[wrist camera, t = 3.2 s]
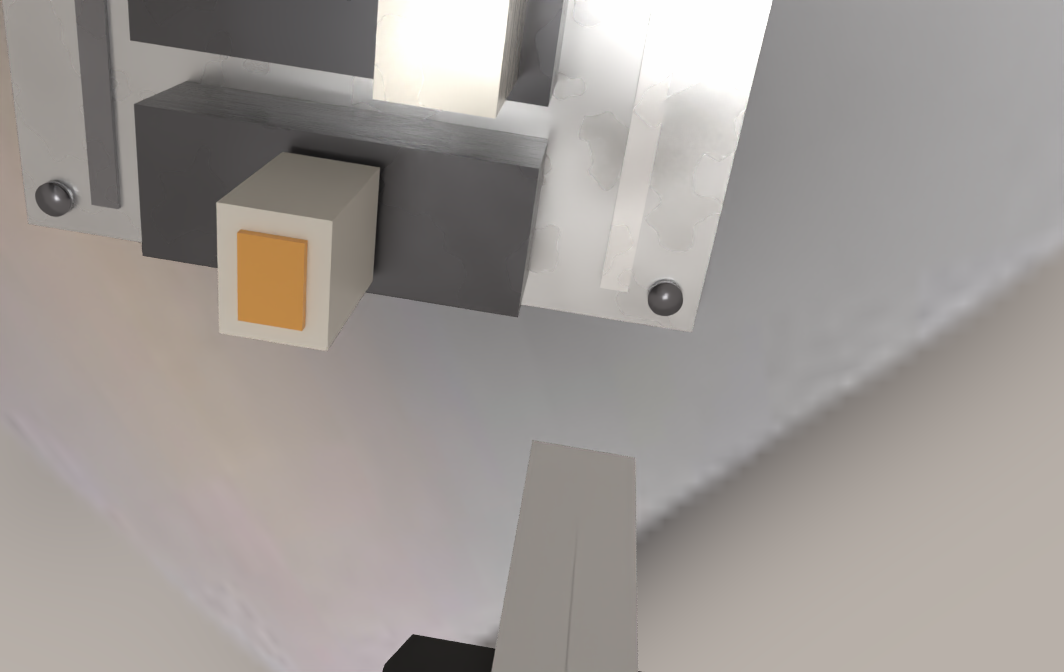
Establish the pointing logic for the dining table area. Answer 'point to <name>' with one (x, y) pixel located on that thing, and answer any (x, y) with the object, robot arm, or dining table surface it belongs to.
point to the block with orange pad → (296, 249)
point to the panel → (562, 118)
